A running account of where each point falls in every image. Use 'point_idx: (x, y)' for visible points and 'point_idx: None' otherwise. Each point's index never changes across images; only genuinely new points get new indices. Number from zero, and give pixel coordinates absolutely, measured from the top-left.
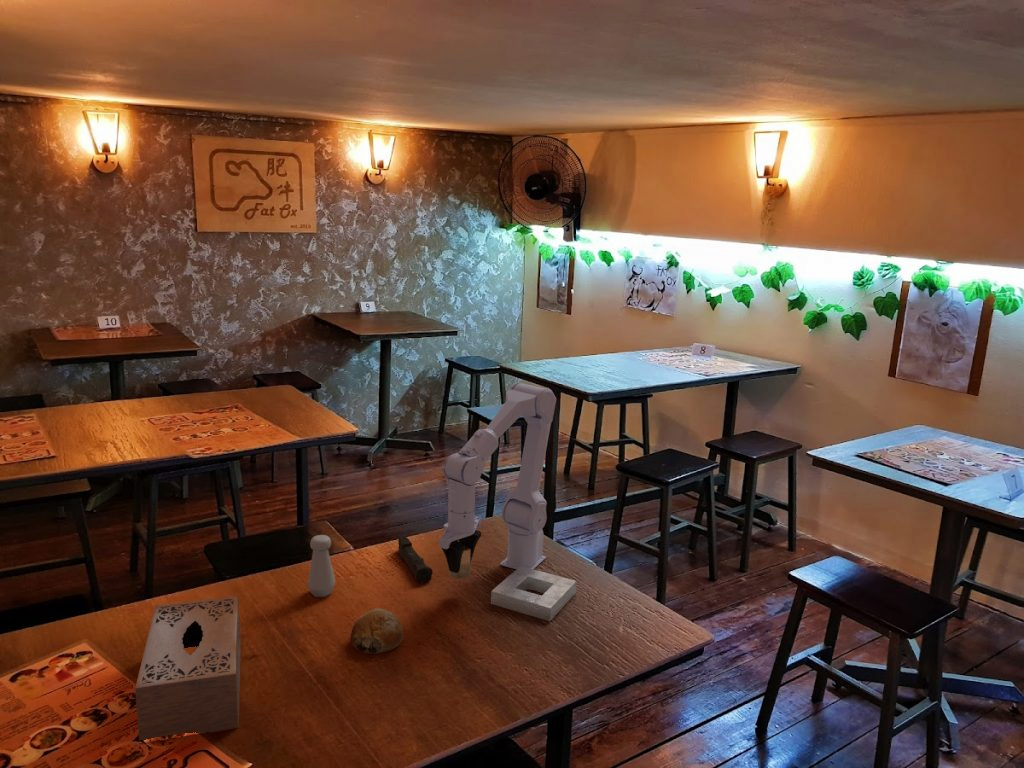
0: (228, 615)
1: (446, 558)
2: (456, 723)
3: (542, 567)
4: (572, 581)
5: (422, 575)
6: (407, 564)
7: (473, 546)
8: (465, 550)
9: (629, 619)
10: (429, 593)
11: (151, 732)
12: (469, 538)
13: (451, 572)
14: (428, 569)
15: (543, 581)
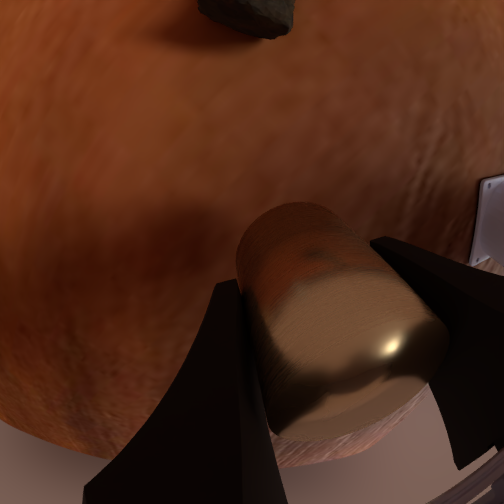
0: None
1: (187, 357)
2: (43, 432)
3: (490, 260)
4: (427, 383)
5: (227, 16)
6: None
7: (433, 389)
8: (354, 421)
9: (371, 426)
10: (179, 118)
11: None
12: (470, 418)
13: (240, 264)
14: (267, 19)
15: None
